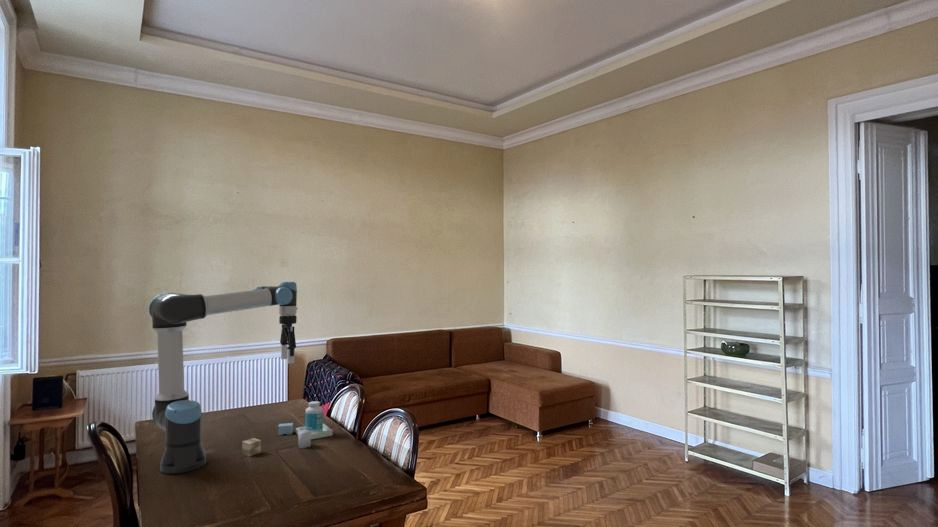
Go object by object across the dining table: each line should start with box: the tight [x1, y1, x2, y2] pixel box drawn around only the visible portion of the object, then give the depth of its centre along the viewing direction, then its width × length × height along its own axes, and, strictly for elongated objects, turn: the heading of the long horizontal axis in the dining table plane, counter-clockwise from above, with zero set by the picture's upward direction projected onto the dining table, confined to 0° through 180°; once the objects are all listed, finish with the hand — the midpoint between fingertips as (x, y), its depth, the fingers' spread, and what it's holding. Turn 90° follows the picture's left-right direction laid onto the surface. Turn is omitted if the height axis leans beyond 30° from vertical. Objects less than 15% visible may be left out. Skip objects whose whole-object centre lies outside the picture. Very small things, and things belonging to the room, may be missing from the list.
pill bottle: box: [304, 400, 324, 433], centre depth 227 cm, size 8×7×14 cm
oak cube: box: [241, 437, 262, 457], centre depth 204 cm, size 5×5×5 cm
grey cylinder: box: [297, 430, 312, 449], centre depth 212 cm, size 5×5×6 cm
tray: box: [295, 422, 334, 440], centre depth 228 cm, size 13×13×2 cm
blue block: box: [277, 422, 294, 436], centre depth 229 cm, size 6×4×4 cm, turn 105°
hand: (287, 361), depth 235 cm, fingers open, 13 cm apart
